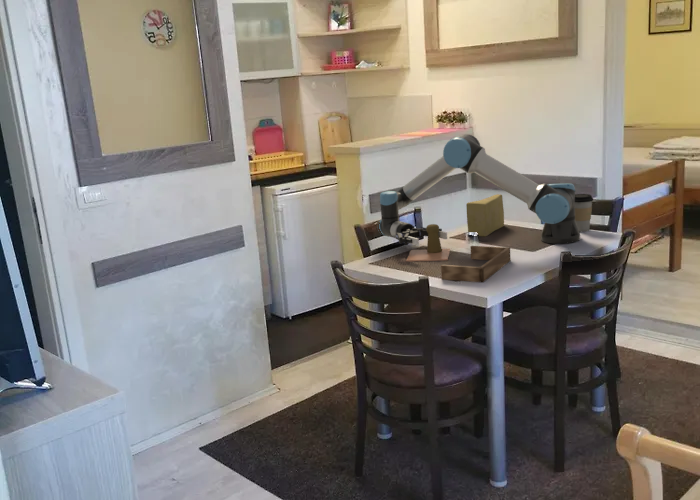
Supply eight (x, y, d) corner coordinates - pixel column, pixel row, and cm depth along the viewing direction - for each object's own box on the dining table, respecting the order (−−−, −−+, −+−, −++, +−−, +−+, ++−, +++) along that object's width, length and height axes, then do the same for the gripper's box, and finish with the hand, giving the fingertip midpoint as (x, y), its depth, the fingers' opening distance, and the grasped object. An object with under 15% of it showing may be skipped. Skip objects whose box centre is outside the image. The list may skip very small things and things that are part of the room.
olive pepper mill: (429, 249, 280) (427, 223, 277) (443, 249, 278) (441, 222, 275) (425, 253, 274) (422, 226, 272) (439, 253, 272) (437, 226, 270)
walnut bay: (441, 279, 240) (440, 265, 239) (472, 258, 263) (471, 245, 262) (482, 282, 232) (482, 268, 231) (510, 260, 255) (510, 247, 254)
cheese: (493, 225, 316) (492, 193, 313) (512, 226, 310) (511, 193, 306) (467, 235, 301) (465, 202, 297) (486, 237, 294) (484, 203, 291)
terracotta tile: (450, 249, 279) (450, 248, 278) (447, 260, 263) (447, 258, 263) (411, 251, 282) (411, 249, 282) (406, 261, 267) (406, 260, 267)
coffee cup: (595, 232, 285) (594, 196, 281) (571, 233, 287) (570, 198, 284) (591, 227, 294) (591, 192, 290) (569, 228, 296) (568, 194, 292)
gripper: (428, 234, 293) (458, 242, 275) (378, 245, 282) (406, 254, 264) (427, 217, 291) (457, 224, 273) (376, 227, 280) (404, 235, 262)
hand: (432, 239), depth 268 cm, fingers open, 13 cm apart
